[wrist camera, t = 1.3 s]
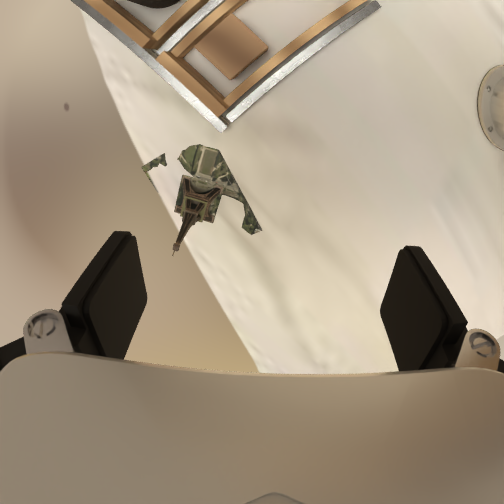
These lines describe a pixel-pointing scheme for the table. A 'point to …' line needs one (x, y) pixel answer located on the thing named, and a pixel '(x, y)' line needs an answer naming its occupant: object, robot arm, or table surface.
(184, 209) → the eiffel tower figurine
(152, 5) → the travel mug
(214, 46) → the walnut block
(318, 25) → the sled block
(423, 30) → the table surface
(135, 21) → the brown low piece
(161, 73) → the lane frame
